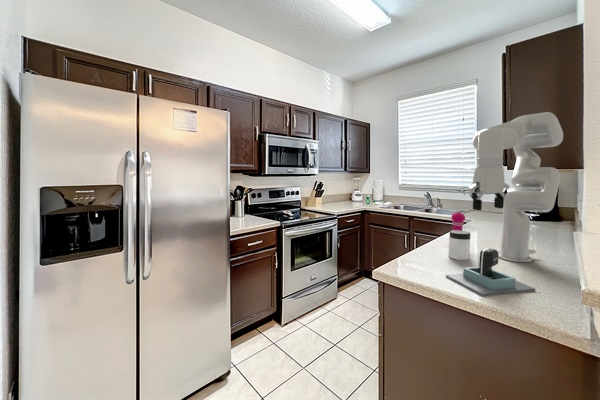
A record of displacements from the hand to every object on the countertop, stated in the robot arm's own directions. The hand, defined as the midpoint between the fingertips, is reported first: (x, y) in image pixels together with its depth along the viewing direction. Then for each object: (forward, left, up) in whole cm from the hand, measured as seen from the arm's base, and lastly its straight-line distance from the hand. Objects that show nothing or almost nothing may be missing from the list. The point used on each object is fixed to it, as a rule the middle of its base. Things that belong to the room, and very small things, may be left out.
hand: (487, 208), depth 99 cm
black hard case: (+6, +8, -25) cm, 27 cm away
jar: (-5, -19, -26) cm, 32 cm away
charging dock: (+7, +8, -25) cm, 27 cm away
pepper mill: (-16, -33, -26) cm, 45 cm away
